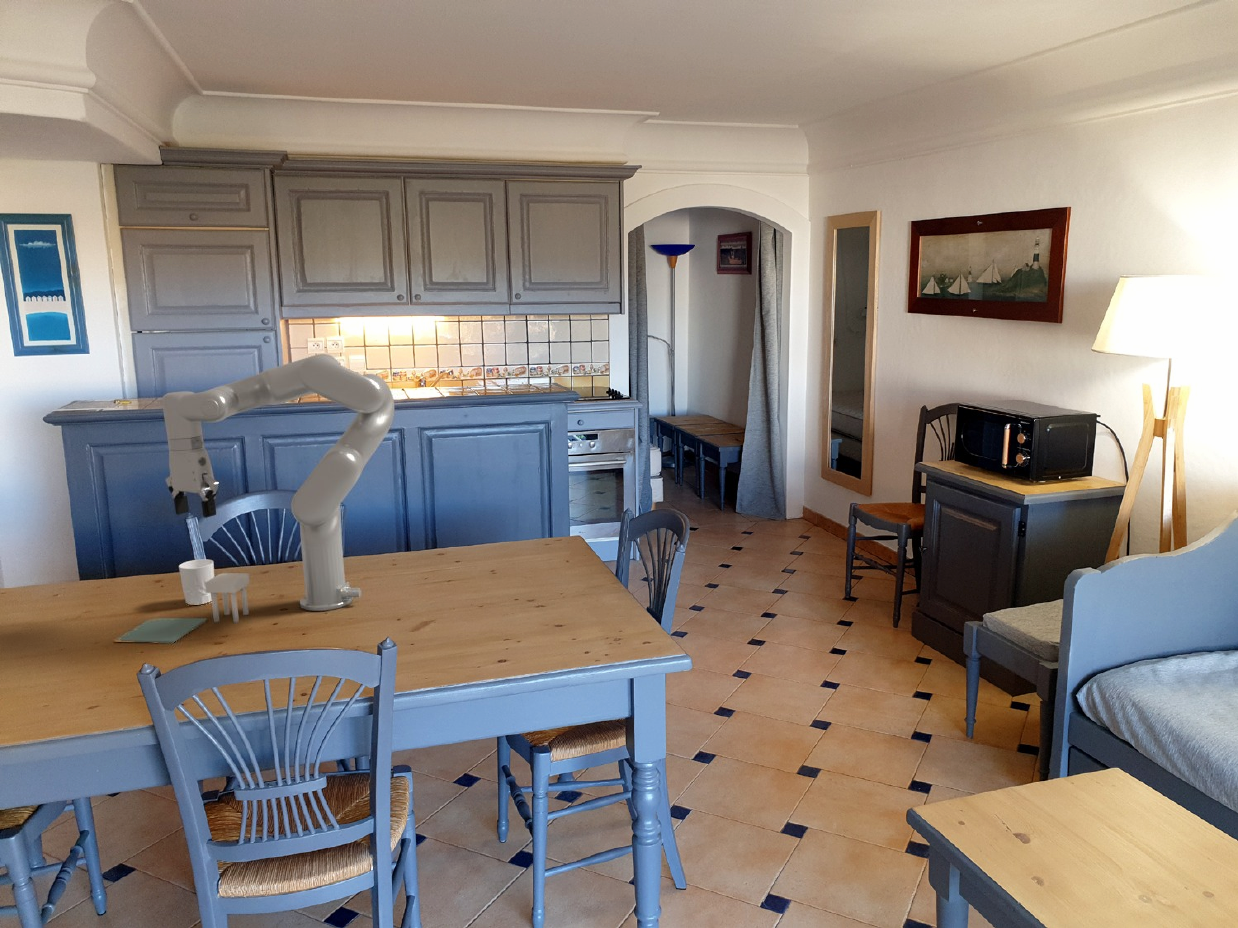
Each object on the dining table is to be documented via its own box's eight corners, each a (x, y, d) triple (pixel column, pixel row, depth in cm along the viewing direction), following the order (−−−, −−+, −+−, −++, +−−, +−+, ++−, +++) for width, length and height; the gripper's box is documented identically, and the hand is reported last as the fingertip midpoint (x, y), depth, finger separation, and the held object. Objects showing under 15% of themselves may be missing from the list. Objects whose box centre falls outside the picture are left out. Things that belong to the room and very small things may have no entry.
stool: (252, 612, 218) (248, 573, 216) (238, 623, 212) (233, 582, 210) (225, 612, 219) (220, 573, 217) (209, 622, 212) (205, 582, 210)
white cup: (223, 596, 231) (219, 559, 229) (206, 607, 223) (202, 568, 221) (194, 596, 232) (190, 559, 230) (176, 606, 224) (172, 568, 222)
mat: (207, 620, 214) (206, 618, 214) (173, 643, 200) (173, 641, 200) (151, 619, 215) (150, 617, 215) (114, 642, 201) (113, 640, 201)
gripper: (224, 443, 211) (234, 513, 214) (176, 440, 219) (185, 508, 222) (197, 448, 204) (207, 521, 208) (147, 445, 212) (158, 515, 216)
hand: (196, 514), depth 215 cm, fingers open, 9 cm apart
